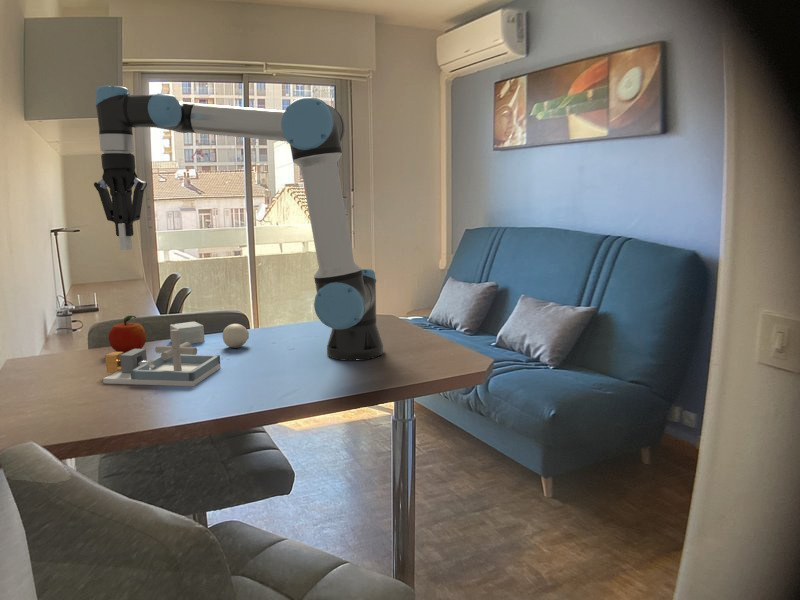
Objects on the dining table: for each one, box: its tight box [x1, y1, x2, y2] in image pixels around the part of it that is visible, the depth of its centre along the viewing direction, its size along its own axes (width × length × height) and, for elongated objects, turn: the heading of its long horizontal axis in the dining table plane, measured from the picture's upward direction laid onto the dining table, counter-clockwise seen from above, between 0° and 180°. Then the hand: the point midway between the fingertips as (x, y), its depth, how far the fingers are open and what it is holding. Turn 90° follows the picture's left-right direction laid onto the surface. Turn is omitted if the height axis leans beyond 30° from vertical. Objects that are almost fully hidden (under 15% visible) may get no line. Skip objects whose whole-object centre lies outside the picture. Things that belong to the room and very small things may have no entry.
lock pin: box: [105, 351, 155, 374], centre depth 153 cm, size 11×3×4 cm, turn 82°
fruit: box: [108, 315, 147, 353], centre depth 174 cm, size 10×10×10 cm
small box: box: [169, 321, 205, 345], centre depth 186 cm, size 8×8×5 cm
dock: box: [102, 348, 222, 387], centre depth 152 cm, size 22×15×6 cm
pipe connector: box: [154, 329, 198, 371], centre depth 151 cm, size 10×10×10 cm
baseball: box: [222, 323, 250, 349], centre depth 178 cm, size 7×7×7 cm
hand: (126, 249), depth 158 cm, fingers closed
